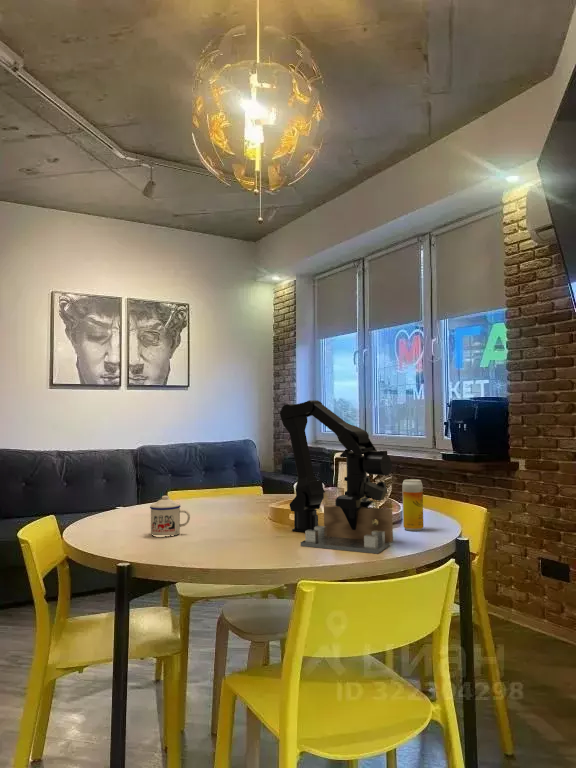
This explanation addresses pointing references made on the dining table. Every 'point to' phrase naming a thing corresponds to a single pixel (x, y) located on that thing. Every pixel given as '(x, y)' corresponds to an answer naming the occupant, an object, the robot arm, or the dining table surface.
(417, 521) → the beer can
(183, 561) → the dining table surface
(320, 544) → the rail
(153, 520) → the teacup with lid
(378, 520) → the walnut door
